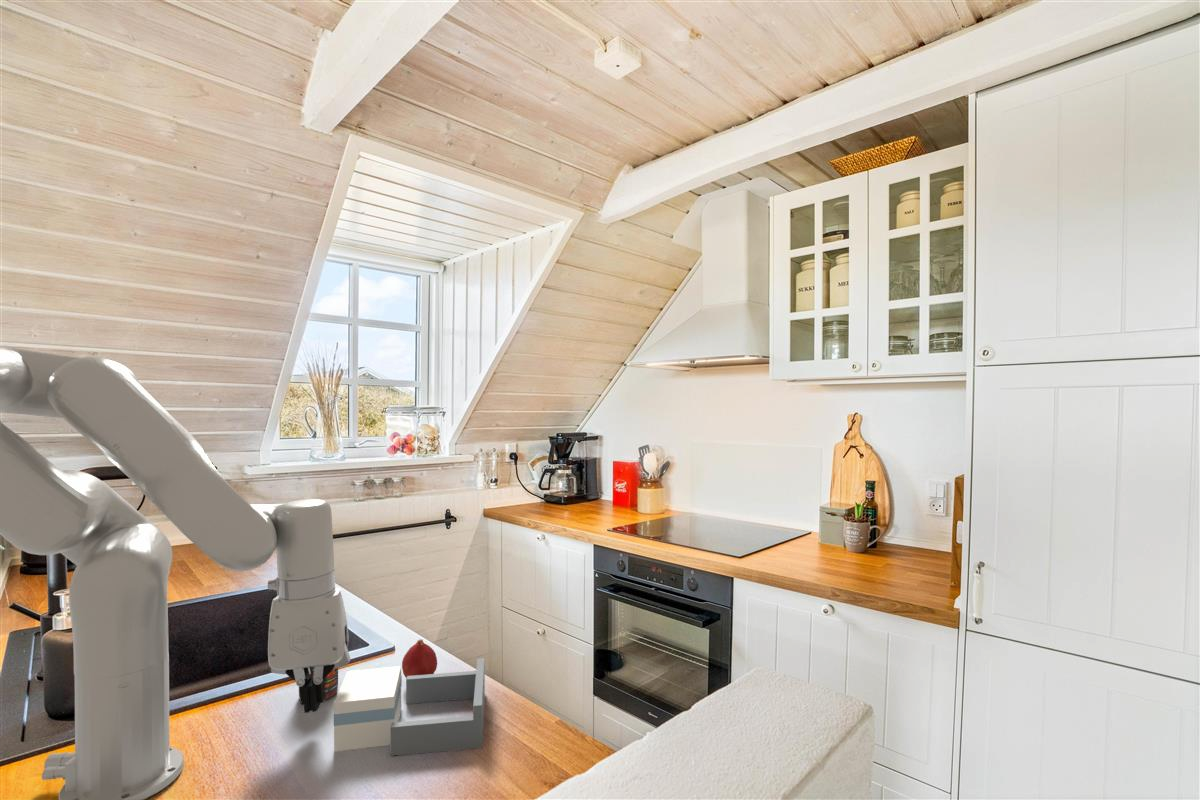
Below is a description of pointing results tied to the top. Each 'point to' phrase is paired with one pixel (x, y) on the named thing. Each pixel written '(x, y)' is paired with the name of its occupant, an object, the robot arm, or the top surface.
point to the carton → (367, 708)
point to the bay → (444, 730)
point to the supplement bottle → (328, 683)
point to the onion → (419, 660)
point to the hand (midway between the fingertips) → (313, 707)
